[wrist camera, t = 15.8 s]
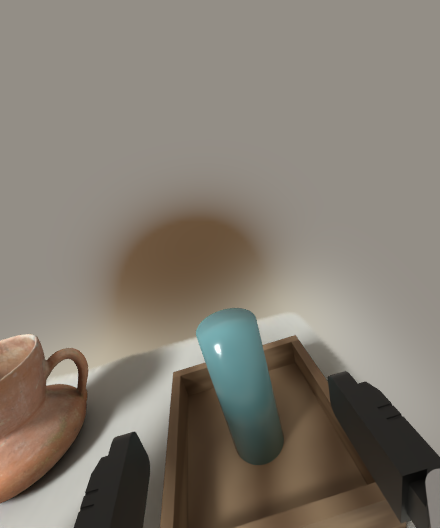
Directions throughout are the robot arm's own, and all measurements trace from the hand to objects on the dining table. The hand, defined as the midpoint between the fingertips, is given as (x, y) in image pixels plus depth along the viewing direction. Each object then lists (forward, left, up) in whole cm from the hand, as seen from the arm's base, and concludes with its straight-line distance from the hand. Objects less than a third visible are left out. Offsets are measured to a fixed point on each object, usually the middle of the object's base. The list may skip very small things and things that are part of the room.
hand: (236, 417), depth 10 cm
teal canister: (0, +11, -17) cm, 20 cm away
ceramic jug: (-28, +19, -18) cm, 38 cm away
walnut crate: (0, +11, -18) cm, 21 cm away
